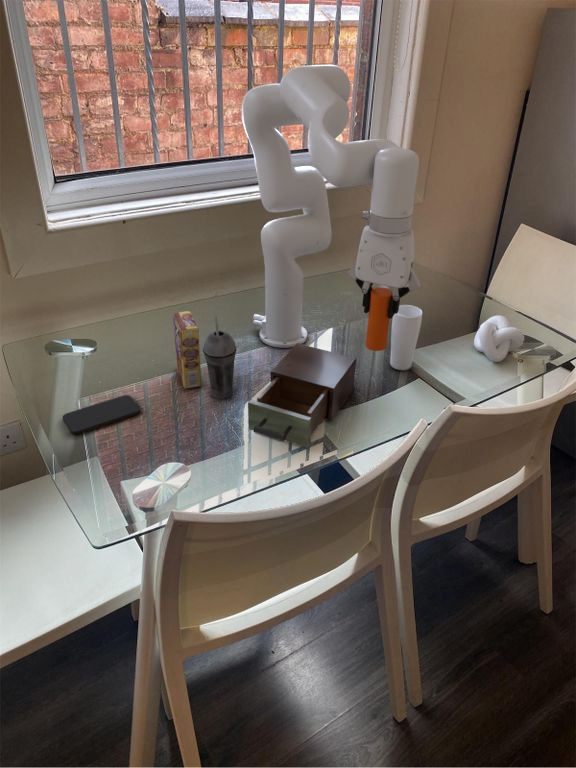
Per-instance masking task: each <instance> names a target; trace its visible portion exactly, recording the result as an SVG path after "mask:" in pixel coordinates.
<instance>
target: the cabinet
mask: <svg viewBox="0 0 576 768" xmlns="http://www.w3.org/2000/svg"><path fill="white" fill-rule="evenodd" d="M356 366H357V357H353V356H349V355H345V354H342V353H338V352H333V351H329V350H325V349H321V348H318V347H313V346H309V345H306V344H303V343H302V344H298V343H297V344H296V345H295V346H294V347H291V348H290V350H289V351H288V352H286V354H285V355H284V356H283V358H281V360H280V361H279V362H277V364H276V365H275V366H274V367H273V368H272V369H271V370H270V383H271V382H272V381H273V380H274V379H275V378H276V377H277V376H278V377H282V378H286V379H289V380H293V381H297V382H300V383H304V384H307V385H311V386H315V387H318V388H322V389H326V390H329V391H330V394H329V409H328V413H327V415H326V416H325V418H324V419H323V421H327V422H332V421H333V420H334V419H335V418H336V416H337V415H338V414H339V412H340V410H341V408H342V407H343V406H344V405H345V403H346V402H347V400H348V399H349V397H350V396H351V394H352V393H353V391H354V390H355V389H354V387H355V377H356Z"/></svg>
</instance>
